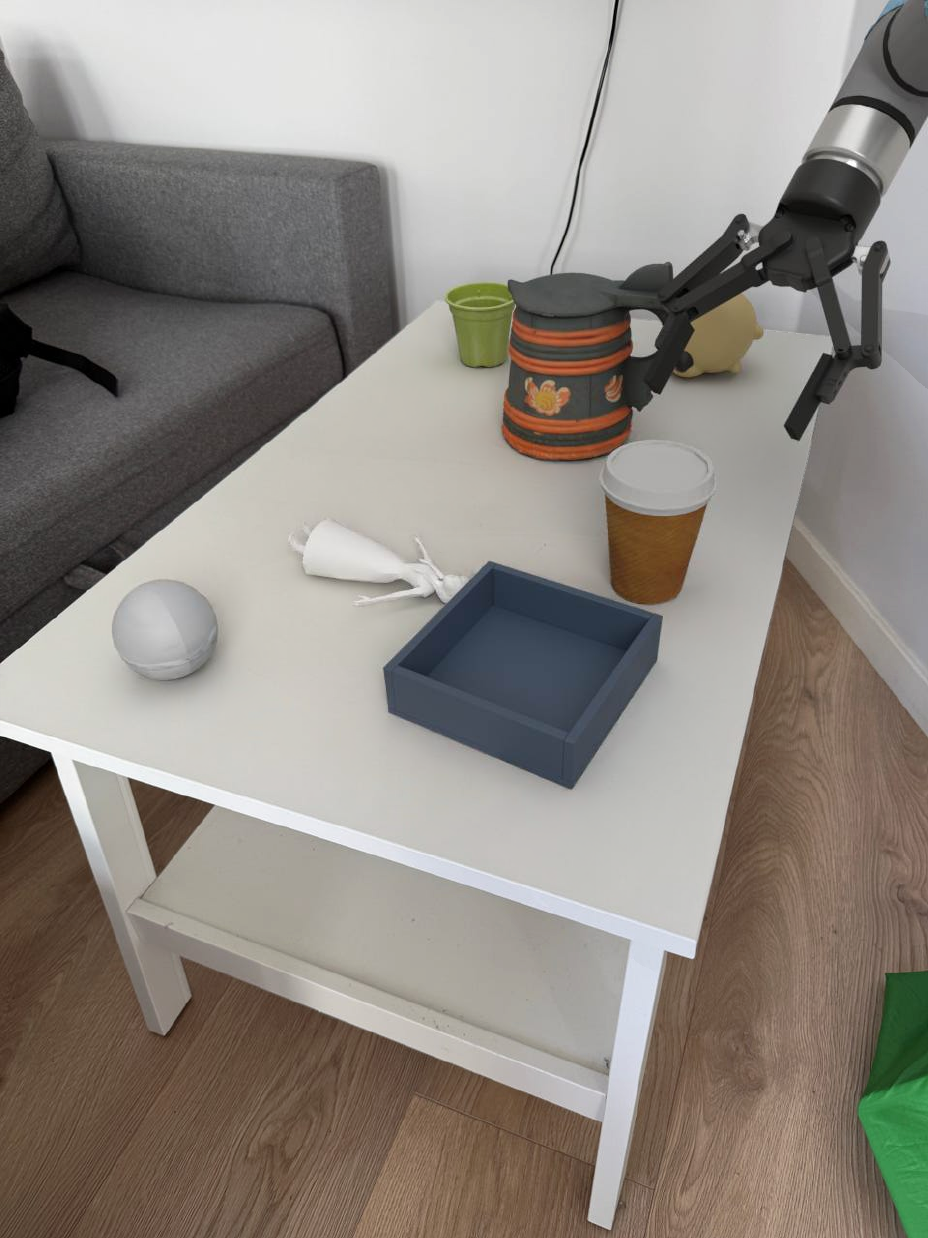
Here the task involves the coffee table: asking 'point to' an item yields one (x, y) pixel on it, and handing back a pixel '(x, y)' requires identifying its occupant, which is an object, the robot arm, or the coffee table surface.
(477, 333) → the plant pot
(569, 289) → the lidded tankard
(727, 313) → the toy pig
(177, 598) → the bath bomb
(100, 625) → the coffee table surface
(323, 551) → the woman figurine
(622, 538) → the disposable coffee cup
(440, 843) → the coffee table surface
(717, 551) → the coffee table surface
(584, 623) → the bin
